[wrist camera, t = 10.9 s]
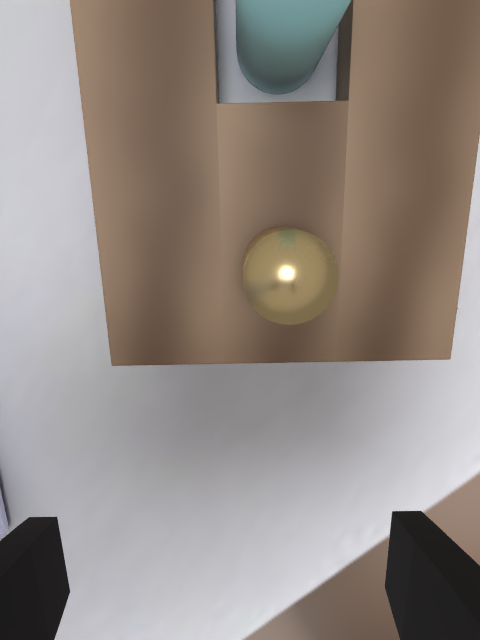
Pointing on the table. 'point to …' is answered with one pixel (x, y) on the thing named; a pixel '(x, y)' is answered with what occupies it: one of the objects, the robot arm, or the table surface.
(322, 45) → the teal pin
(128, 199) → the pin board
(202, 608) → the table surface
